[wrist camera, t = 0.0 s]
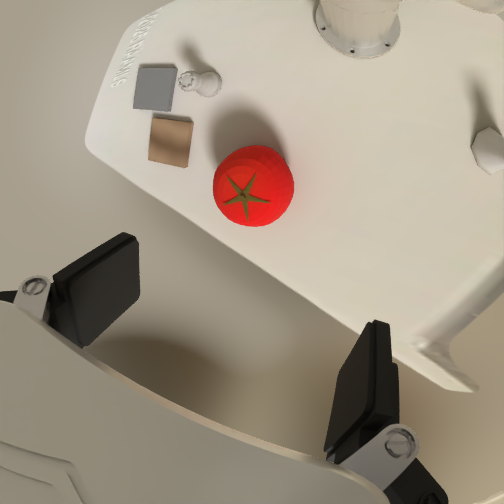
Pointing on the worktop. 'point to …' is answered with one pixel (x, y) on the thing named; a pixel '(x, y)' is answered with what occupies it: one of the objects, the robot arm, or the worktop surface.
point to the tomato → (253, 186)
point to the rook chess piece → (201, 83)
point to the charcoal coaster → (155, 88)
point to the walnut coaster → (170, 142)
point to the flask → (489, 150)
